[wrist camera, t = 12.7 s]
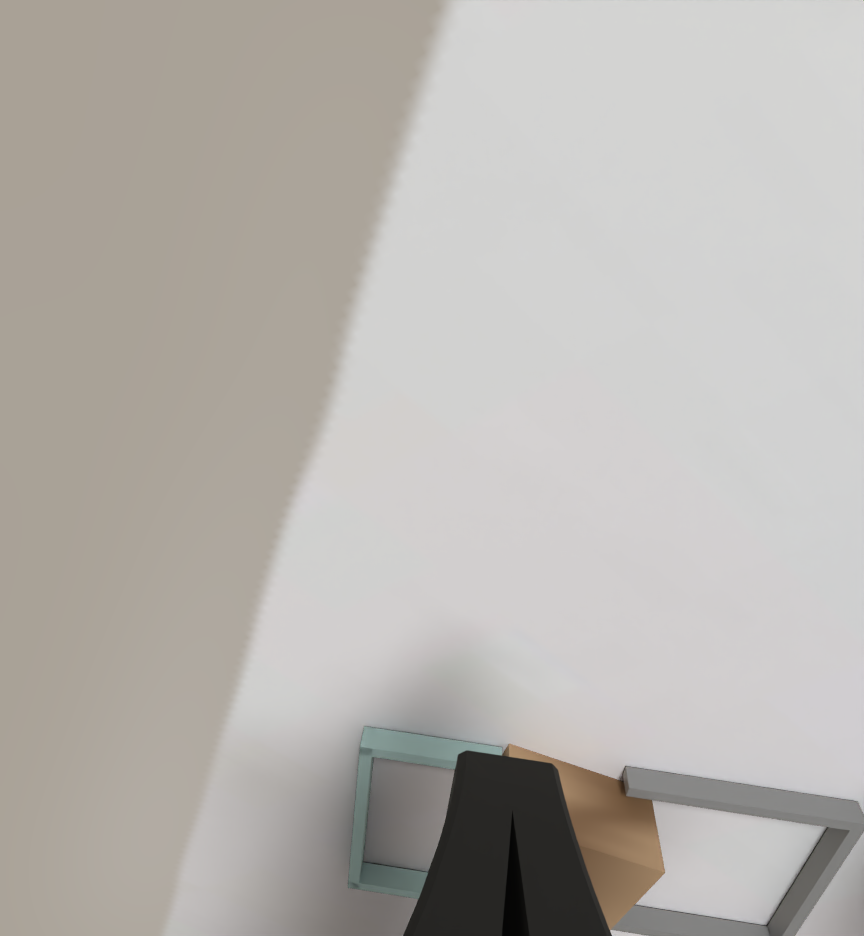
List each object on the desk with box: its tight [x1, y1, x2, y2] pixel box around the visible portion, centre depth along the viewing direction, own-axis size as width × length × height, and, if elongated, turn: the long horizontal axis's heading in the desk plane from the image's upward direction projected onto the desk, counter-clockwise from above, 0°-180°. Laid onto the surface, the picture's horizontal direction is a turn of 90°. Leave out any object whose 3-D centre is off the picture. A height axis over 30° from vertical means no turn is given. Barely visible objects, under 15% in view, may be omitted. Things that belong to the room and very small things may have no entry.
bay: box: [348, 726, 502, 899], centre depth 26 cm, size 4×8×1 cm, turn 174°
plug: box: [502, 744, 665, 930], centre depth 24 cm, size 5×5×3 cm
